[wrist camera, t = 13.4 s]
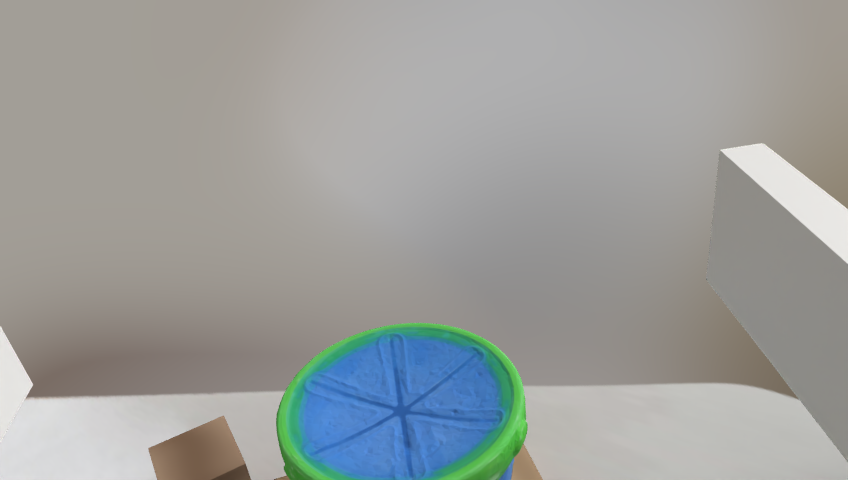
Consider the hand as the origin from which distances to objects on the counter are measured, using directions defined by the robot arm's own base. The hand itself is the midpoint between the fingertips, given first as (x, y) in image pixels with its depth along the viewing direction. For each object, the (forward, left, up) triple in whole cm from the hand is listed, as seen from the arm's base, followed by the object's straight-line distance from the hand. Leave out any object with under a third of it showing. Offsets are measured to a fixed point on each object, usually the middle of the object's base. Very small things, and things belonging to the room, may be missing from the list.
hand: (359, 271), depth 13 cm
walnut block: (+9, -21, -27) cm, 35 cm away
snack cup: (-2, -11, -24) cm, 27 cm away
